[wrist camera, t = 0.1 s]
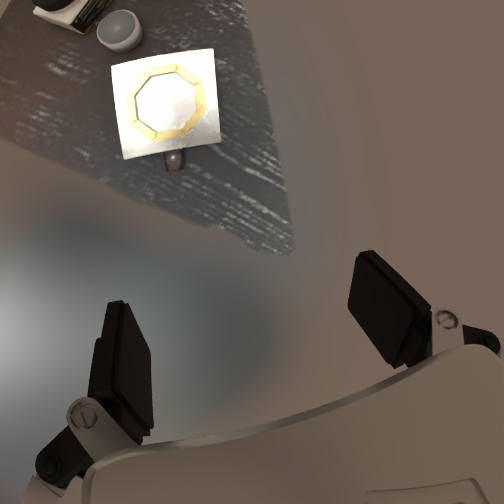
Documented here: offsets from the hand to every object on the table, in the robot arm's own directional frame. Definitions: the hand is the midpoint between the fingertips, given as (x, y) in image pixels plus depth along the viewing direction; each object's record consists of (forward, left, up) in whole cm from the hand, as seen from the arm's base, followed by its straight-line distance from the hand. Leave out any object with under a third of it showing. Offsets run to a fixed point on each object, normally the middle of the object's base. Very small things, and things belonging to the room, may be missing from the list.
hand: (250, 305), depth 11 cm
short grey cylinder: (-19, -8, -31) cm, 37 cm away
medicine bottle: (-26, -14, -31) cm, 43 cm away
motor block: (-6, -3, -31) cm, 32 cm away
